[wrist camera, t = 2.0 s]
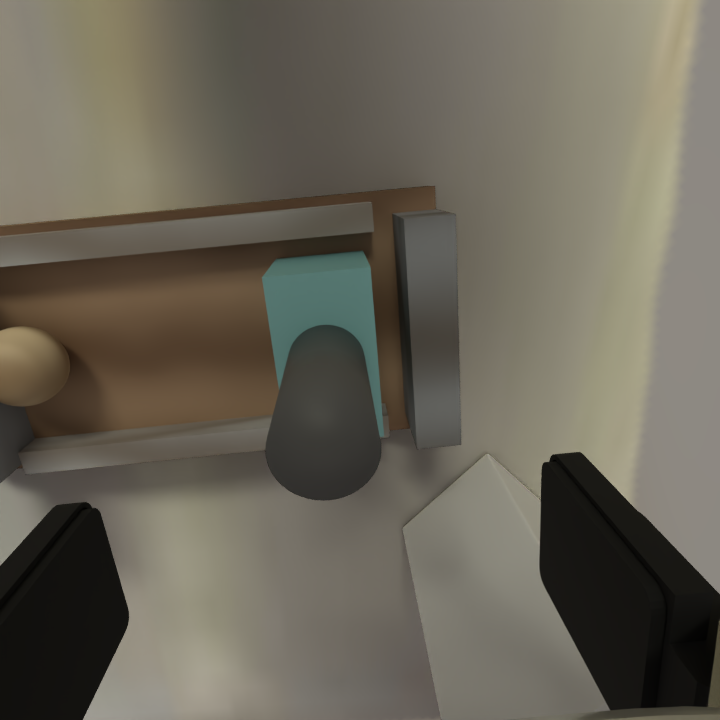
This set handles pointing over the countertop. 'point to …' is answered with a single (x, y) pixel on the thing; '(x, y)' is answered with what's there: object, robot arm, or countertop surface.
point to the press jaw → (323, 374)
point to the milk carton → (492, 604)
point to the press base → (208, 326)
